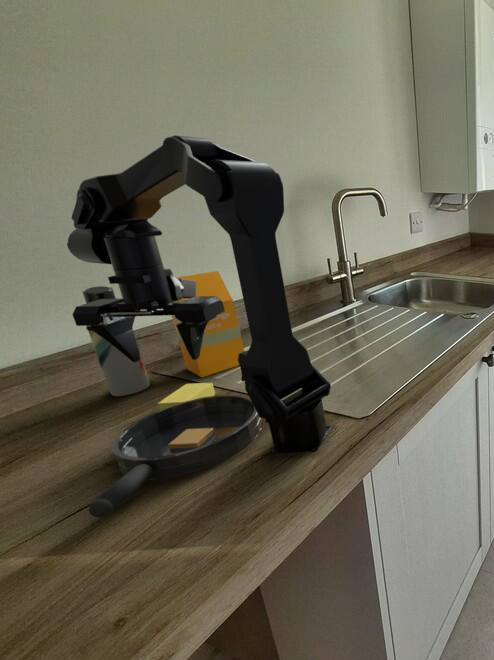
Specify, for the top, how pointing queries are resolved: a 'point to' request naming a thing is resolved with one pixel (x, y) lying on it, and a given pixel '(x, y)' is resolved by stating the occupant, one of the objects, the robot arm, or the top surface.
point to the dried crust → (191, 438)
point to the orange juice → (214, 330)
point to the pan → (167, 424)
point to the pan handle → (120, 491)
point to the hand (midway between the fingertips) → (166, 360)
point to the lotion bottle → (116, 356)
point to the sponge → (188, 394)
